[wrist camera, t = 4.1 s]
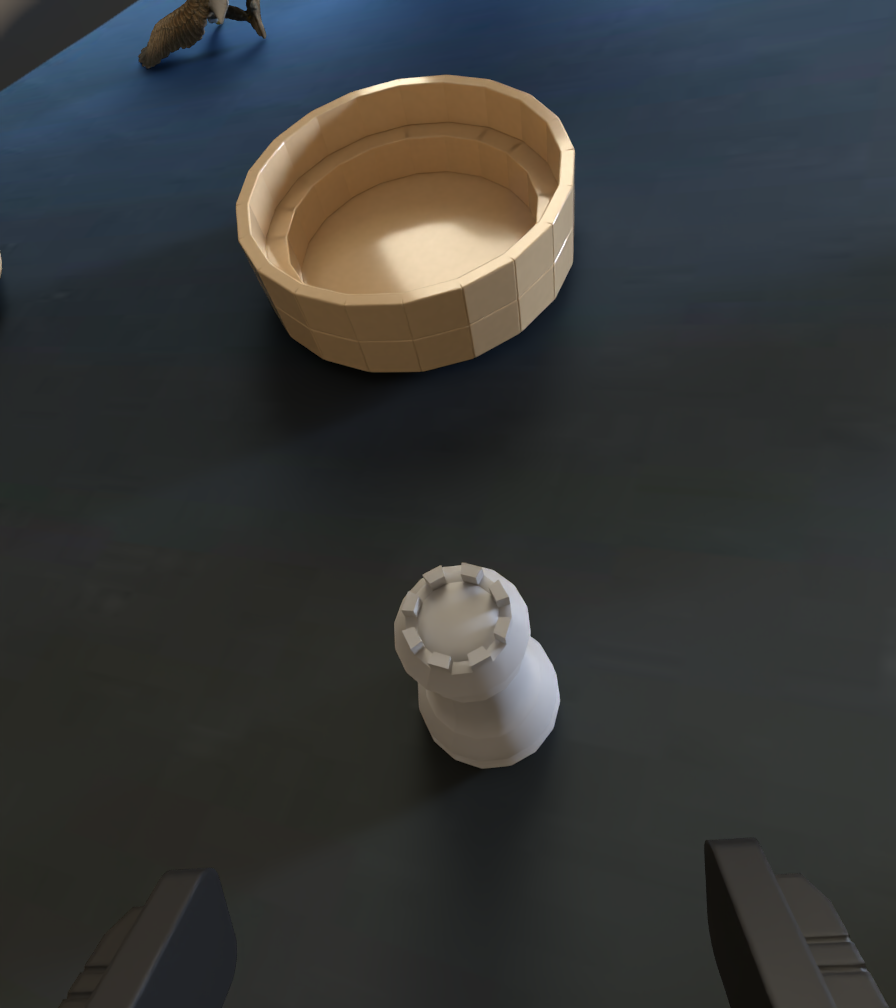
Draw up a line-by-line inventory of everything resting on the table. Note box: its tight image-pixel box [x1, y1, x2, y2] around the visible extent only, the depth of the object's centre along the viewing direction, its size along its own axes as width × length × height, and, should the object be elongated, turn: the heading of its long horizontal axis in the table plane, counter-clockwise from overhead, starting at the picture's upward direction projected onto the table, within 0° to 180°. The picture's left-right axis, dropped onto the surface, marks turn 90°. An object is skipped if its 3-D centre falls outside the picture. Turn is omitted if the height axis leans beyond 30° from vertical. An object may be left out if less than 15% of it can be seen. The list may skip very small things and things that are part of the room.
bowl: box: [236, 75, 575, 372], centre depth 31 cm, size 14×14×4 cm
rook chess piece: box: [394, 563, 560, 769], centre depth 19 cm, size 4×4×8 cm
